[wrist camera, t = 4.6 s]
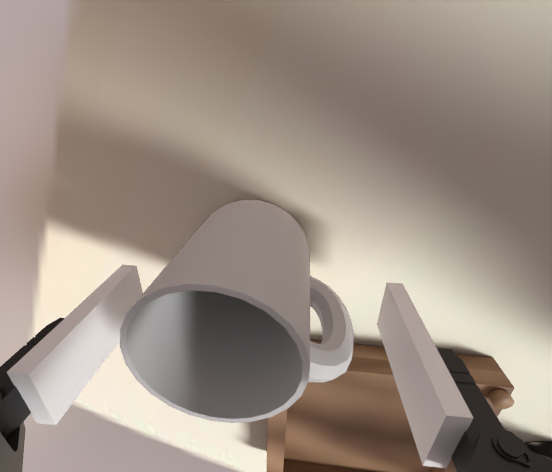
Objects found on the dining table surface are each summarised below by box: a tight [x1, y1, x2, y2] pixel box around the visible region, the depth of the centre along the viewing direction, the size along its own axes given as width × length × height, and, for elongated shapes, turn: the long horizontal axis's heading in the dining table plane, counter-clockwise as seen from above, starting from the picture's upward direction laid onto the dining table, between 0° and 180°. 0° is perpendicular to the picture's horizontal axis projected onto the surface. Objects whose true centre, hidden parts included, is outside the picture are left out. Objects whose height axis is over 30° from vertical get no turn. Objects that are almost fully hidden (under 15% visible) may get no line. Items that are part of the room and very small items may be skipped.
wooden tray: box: [267, 340, 514, 472], centre depth 23 cm, size 16×16×3 cm
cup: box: [120, 200, 354, 423], centre depth 15 cm, size 7×10×9 cm
